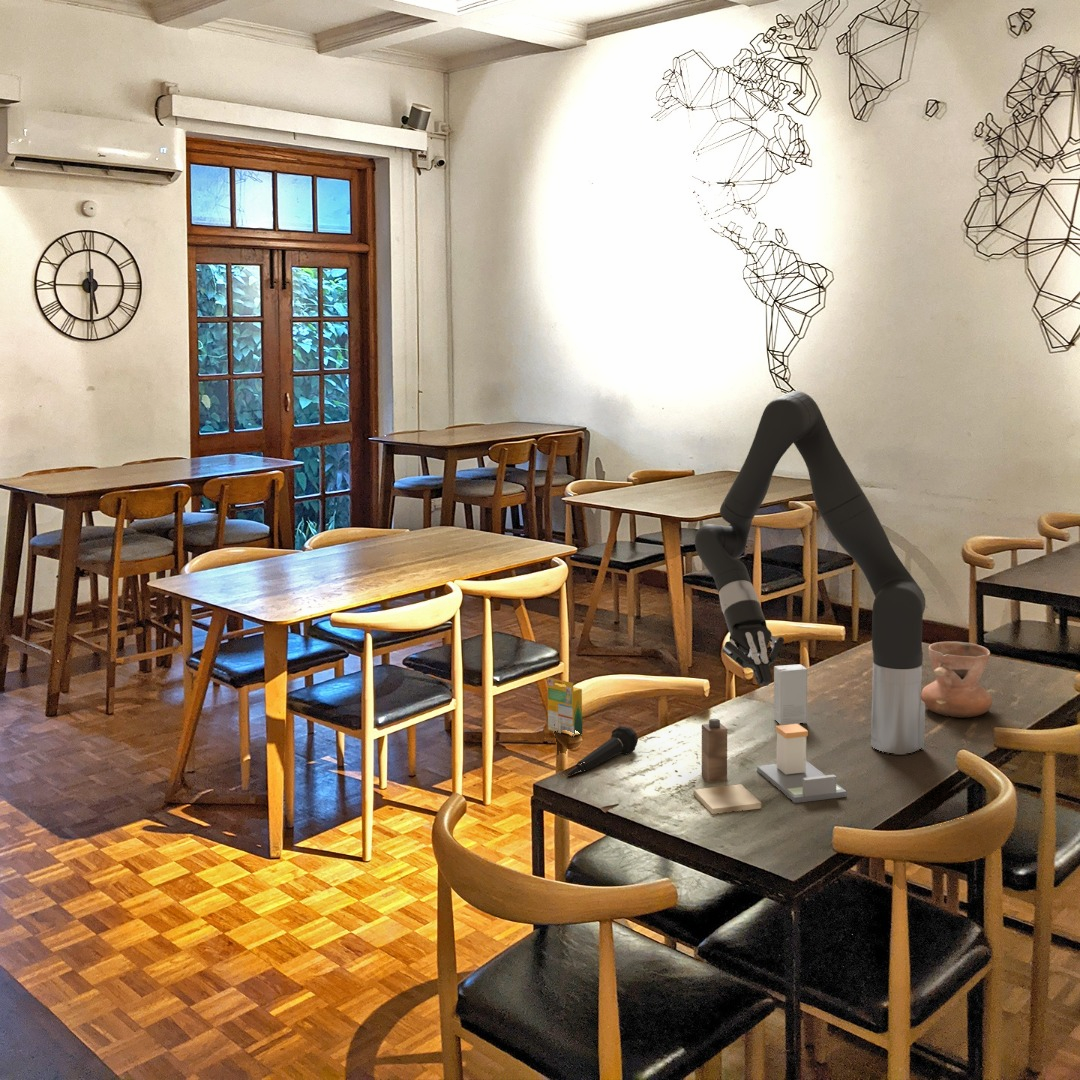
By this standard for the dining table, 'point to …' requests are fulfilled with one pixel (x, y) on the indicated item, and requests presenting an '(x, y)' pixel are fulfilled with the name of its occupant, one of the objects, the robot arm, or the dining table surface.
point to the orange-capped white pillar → (791, 748)
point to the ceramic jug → (957, 680)
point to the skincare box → (790, 694)
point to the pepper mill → (714, 751)
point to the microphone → (609, 749)
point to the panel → (803, 783)
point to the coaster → (727, 799)
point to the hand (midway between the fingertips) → (765, 684)
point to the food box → (564, 706)
